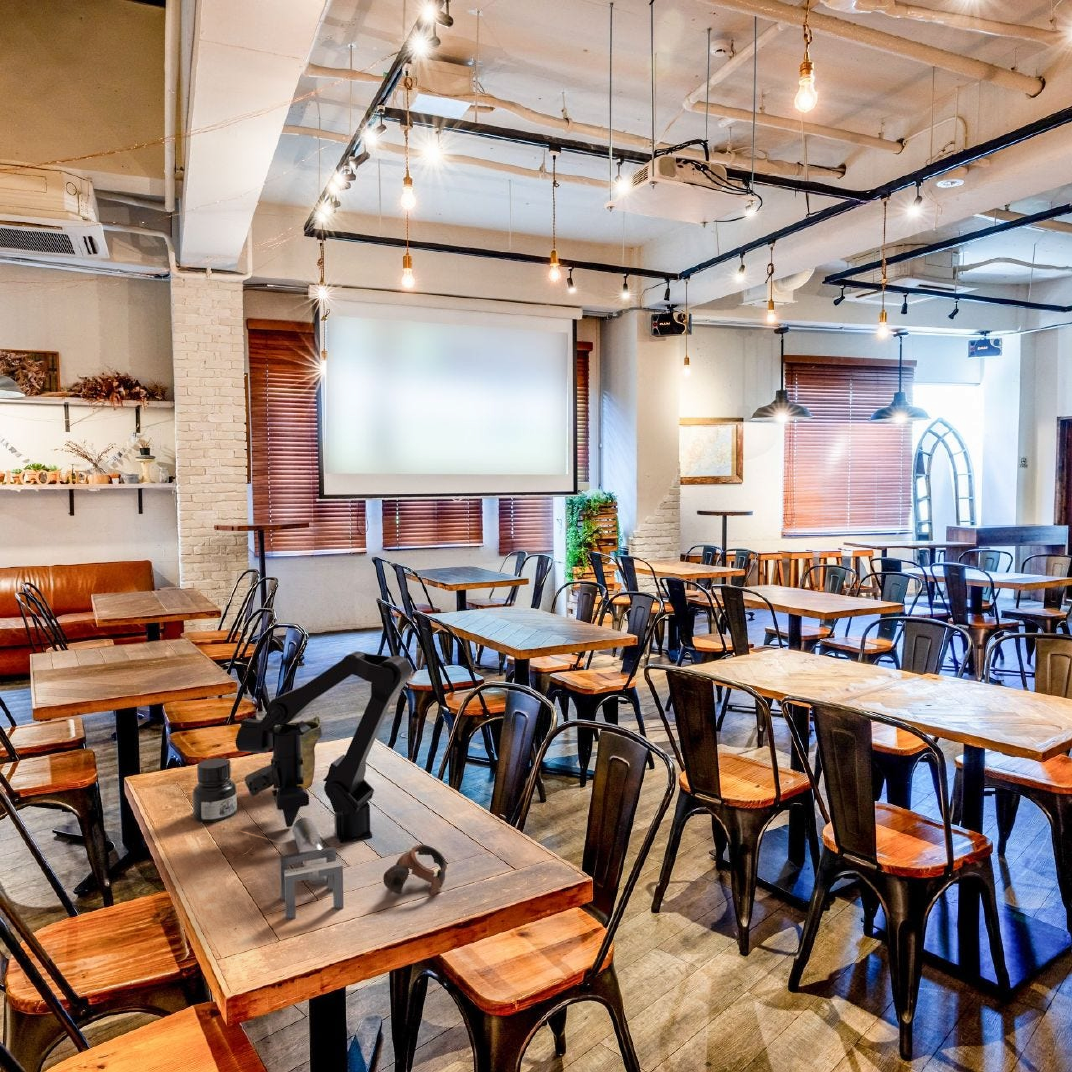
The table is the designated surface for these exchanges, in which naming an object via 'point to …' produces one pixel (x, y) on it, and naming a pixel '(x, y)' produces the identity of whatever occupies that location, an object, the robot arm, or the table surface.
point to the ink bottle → (214, 792)
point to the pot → (309, 750)
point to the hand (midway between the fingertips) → (289, 826)
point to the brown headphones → (416, 870)
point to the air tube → (309, 846)
